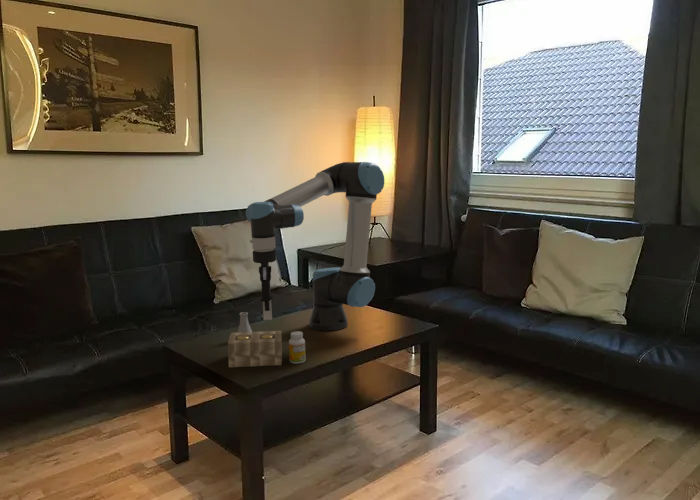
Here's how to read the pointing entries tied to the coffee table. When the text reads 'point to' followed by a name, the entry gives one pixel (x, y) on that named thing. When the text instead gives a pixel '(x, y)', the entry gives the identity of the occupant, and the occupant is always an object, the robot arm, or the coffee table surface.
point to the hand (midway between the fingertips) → (267, 319)
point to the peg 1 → (243, 337)
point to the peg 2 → (267, 336)
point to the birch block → (255, 349)
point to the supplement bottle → (297, 348)
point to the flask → (244, 323)
